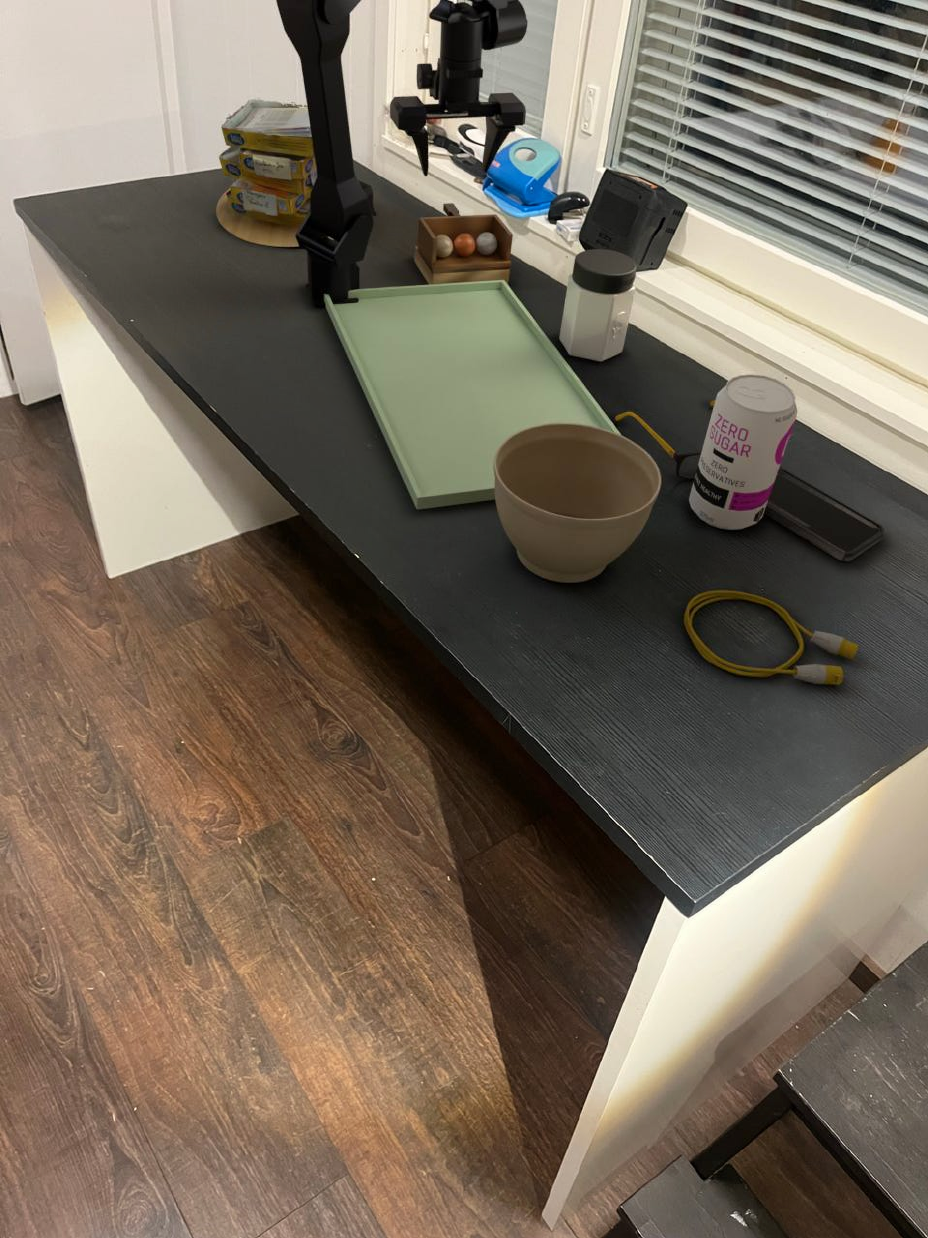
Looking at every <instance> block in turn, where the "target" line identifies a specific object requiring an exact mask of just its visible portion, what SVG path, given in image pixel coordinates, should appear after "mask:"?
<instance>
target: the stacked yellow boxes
mask: <svg viewBox="0 0 928 1238" xmlns="http://www.w3.org/2000/svg"><path fill="white" fill-rule="evenodd" d="M225 119H226V120H225V121H224V123H223V124H221V132H222V135H223V139H224V143H225V145H226V147H227V146H228V148H227V149H225V150H224V151H222V152H221V153H220V155H219V156H218V160H219V163H220V166H221V170H222V174H223V176H227V177H230V178H234V179H235V180H234V181H233V182H232V184H230V187H229V188H228V189H226V191H224V193H223V194H222V195H221V196H220V198H219V200H218V201H217V204H216V209H215V213H216V214H215V215H216V218H217V221H218V222H219V224H220V225H221V226H222V227H223V228H224V229H225V230H226V231H227V232H228V233H229V234H230V235H233V236H235V237H236V238H239V239H241V240H244V241H246V242H249V243H254V244H257V245H263V246H269V247H278V248H290V247H291V248H293V247H294V248H295V247H299V245H298V242H297V239H296V237H295V235H296V233H297V231H298V229H299V228H300V226H301V224H302V223H303V221H304V220H305V218H306V216H307V215H308V213H309V212H310V193H311V190H312V188H313V185H314V183H315V180H316V178H317V169H316V162H315V155H314V149H313V142H312V135H311V128H310V121H309V115H308V108H307V104H303V105H302V104H296V102H293V101H291V103H286V102H285V103H283V102H281V101H280V102H279V101H274V100H273V101H271V100H266V101H265V100H263V99H260V98H259V97H258V98H254V99H253V98H252V99H248V100H247V102H246V103H244V105H241V106H240V107H239V109H237V110H236V111H235V112H233V113H232V115H228V117H226V118H225ZM328 238H330V237H328ZM330 239H332V238H330ZM332 240H334V239H332ZM334 241H335V240H334Z"/></svg>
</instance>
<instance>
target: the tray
mask: <svg viewBox="0 0 928 1238" xmlns="http://www.w3.org/2000/svg"><path fill="white" fill-rule="evenodd" d="M348 298H358V299H359V302H358V303H347V304H333V303H332V301H331V299H330V297H329V295H327V294H324V301H325V303H326V306H324V307H325V309H326V311H327V313H328V316H329V319H330V320H331V322H332V324H333V327H334V329H335V331H336V334H337V336H338V337H339V338H338V339H339V340H340V343H341V344H342V345H341V346H342V347H343V348H344V352H345V353H346V355H347V358H348V360H349V362H350V365H351V366H352V369H353V371H354V374H355V375H356V378H357V380H358V383H359V385H360V387H361V388H362V391H363V394H364V396H365V398H366V400H367V403H368V405H369V407H370V409H371V411H372V414H373V416H374V418H375V420H376V423H377V425H378V427H379V429H380V430H381V434H382V435H383V439H384V440H385V442H386V445H387V447H388V449H389V451H390V453H391V456H392V458H393V460H394V462H395V464H396V466H397V467H396V468H397V470H398V471H399V473H400V475H401V478H402V480H403V482H404V485H405V487H406V489H407V491H408V493H409V496H410V498H411V500H412V503H413V504H414V507H415V508H416V510H425V509H433V508H441V507H448V506H456V505H463V504H471V503H478V502H486V501H496V500H495V477H494V469H493V465H494V457H495V453H496V451H497V449H498V448H499V446H500V445H501V444H502V443H503V442H504V441H505V440H506V439H507V438H509V437H510V436H511V435H513V434H515V433H517V432H519V431H521V430H523V429H526V428H529V427H532V426H536V425H541V424H549V423H576V424H584V425H590V426H595V427H599V428H603V429H606V430H609V431H612V432H614V433H617V434H619V435H622V434H621V432H620V431H619V430H618V428H617V427H616V426H615V425H614V423H613V422H612V421H611V419H610V418H609V416H608V415H607V414H606V412H605V411H604V410H603V409H602V407H601V405H599V403H598V402H597V400H596V399H595V398H594V397H593V395H592V394H591V393H590V391H589V390H588V389H587V387H586V386H585V385H584V383H583V382H582V381H581V379H580V378H579V377H578V375H577V374H576V373H575V372H574V370H573V368H572V367H571V366H570V365H569V364H568V362H567V361H566V360H565V358H564V357H563V356H562V354H561V353H560V352H559V350H558V349H557V348H556V347H555V345H554V343H552V340H550V339H549V337H548V336H547V335H546V333H545V332H544V330H543V329H542V328H541V326H539V324H538V323H537V322H536V319H534V318H533V316H532V315H531V314H530V312H529V310H527V308H526V307H525V305H524V304H523V303H522V302H521V300H520V299H519V298H518V297H517V295H516V294H515V292H514V291H513V290H512V289H511V287H510V285H509V284H508V285H507V283H506V282H505V281H504V280H493V281H478V282H462V283H447V284H431V285H429V284H420V285H419V284H417V285H403V286H402V285H401V286H387V287H386V286H385V287H372V288H371V287H369V288H359V289H355V290H350V291H349V292H348Z"/></svg>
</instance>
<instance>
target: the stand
mask: <svg viewBox="0 0 928 1238" xmlns="http://www.w3.org/2000/svg"><path fill="white" fill-rule="evenodd" d="M417 248H418V245H414V255H413V258H414V259H413V260H414V264H415V265H416V266H417V268H418V269H419V271H420V272H421V275H423V278H424V279H425V281H426V282H427V285H431V284H447V283H462V282H478V281H493V280H504V281H505V282H506V283H507V285H508V286H509V281H510V280H509V279H510V270H511V269H507V270H491V271H475V272H458V273H442V274H432V273H431V271H430V269H429V268H428V266H427V265H426V263H425V262H424V260H423V259H422V257H421V256H420V254H419V252H418V251H417Z"/></svg>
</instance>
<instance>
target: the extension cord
mask: <svg viewBox="0 0 928 1238" xmlns="http://www.w3.org/2000/svg"><path fill="white" fill-rule="evenodd" d="M725 600H743V601H749V602H752V603H755V604H759V605H763V606H766V607H768V608H770V609H771V610H773V611H774V612H775V613H777V614H778V615H779V616H780V617H781V618H782V619H783V620H784V622H785V623H786V624H787V625H788V627H789V628H790V630H791V632H792V633H793V635H794V636H795V638H796V641H797V643H798V645H799V648H798V649H797V651H796V652H795V654H793V656H791V658H789V660H787V661H786V662H785V663H783V664H781V665H780V666H777V667H775V668H762V667H761V668H760V667H750V666H745V665H739V664H735V663H732V662H729V661H727V660H725V659H722V658H721V657H719V656H718V655H716V654H715V652H713V651H712V650H711V649H710V648H709V647H707V646H706V645H705V643H704V642H703V641H702V640H701V639H700V637H699V636H698V635H697V633H696V631H695V630H694V627H693V618H694V616H695V614H696V612H697V611H698V610H699V609H701V608H702V607H704V606H706V605H708V604H711V603H715V602H718V601H719V602H720V601H725ZM691 609H692V611H691ZM683 623H684V627H685V630H686V632H687V634H688V636H689V637H690V640H691V641H692V643H693V645H694V647H695V648H696V651H698V653H699V654H700V655H701V657H703V658H704V660H705V661H707V662H708V663H710V664H712V665H714V666H716V667H718V668H720V669H722V670H724V671H726V672H729V673H731V674H734V675H737V676H744V677H752V678H767V677H771V676H774V675H776V674H787V675H788V674H790V675H792V676H793V678H794V680H795V679H797V680H800V681H803V682H807V683H811V684H813V685H831V686H840V685H841V684H842V683H843V679H844V671H843V668H842V667H841V666H840V665H839V666H838V665H827V664H818V663H814V664H803V665H795V666H794V667H793V669H788V668H790V667H791V666H793V665H794V664H795V663H797V661H798V660H799V659H800V658H801V656H802V655H803V653H804V649H805V647H804V639H803V636H802V634H801V632H802V633H804V634H805V635H806V636H808V637H811V638H810V642H811V643H813V644H814V645H815V646H817V647H819V648H821V649H823V650H824V651H826V652H827V653H828V654H832V655H835V656H838V655H839V656H841V657H844V658H846V659H849V660H851V661H853V659H854V658H855V656H856V653H857V652H858V649H859V644H857V643H854V642H851V641H849V640H846V638H845V637H842V636H840V635H838V634H833V633H829V632H824V631H819V630H816V629H815V630H814V632H810V631H809V630H808V629H807V628H805V627H803V626H802V625H801V624H800V623H798V622H797V621H796V620H795V619H794V618H792V617H791V616H790V614H789V613H788V612H787V610H786V609H785V608H784V607H783V606H782V605H780V604H778V603H777V602H775V601H773V600H771V599H768V598H765V597H762V596H760V595H756V594H754V593H753V594H752V593H748V592H743V591H737V590H729V589H728V590H727V589H720V590H719V589H717V590H715V589H714V590H707V591H703V592H700V593H699V594H696V595H695V596H694V597H692V598H691V599H690V600H689V602H688V604H687V606H686V609H685V612H684V615H683ZM800 631H801V632H800Z"/></svg>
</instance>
